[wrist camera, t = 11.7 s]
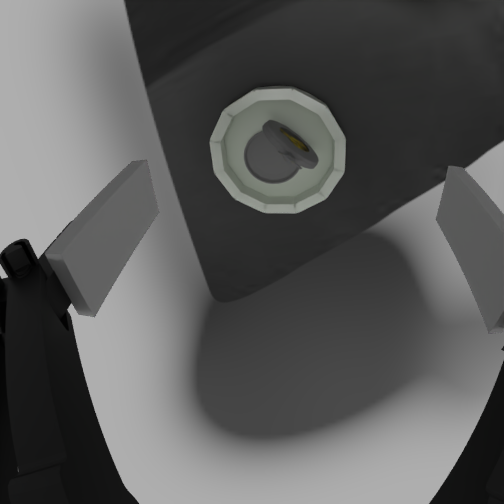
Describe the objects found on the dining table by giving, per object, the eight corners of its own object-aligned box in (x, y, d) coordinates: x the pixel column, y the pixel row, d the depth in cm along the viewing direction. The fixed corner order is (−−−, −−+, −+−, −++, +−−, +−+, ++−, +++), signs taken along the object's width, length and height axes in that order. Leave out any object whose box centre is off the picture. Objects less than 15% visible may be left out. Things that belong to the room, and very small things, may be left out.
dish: (210, 90, 33) (202, 94, 30) (342, 85, 30) (346, 89, 28) (225, 201, 41) (220, 213, 39) (339, 202, 39) (342, 214, 37)
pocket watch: (244, 178, 38) (227, 221, 30) (246, 110, 33) (226, 135, 25) (312, 184, 37) (314, 230, 29) (320, 117, 32) (326, 144, 24)
